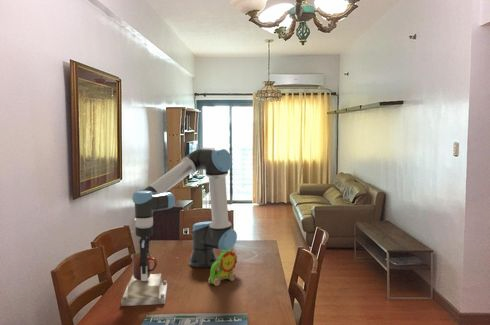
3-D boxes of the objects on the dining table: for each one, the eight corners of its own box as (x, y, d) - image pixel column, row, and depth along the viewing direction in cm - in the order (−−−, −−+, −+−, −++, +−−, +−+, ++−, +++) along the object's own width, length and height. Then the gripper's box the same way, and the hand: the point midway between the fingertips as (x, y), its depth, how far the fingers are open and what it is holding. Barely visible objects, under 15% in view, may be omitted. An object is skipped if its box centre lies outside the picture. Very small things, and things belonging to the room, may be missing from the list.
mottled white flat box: (167, 288, 197) (166, 272, 196) (164, 303, 179) (164, 286, 178) (127, 289, 194) (127, 274, 194) (121, 306, 177) (121, 288, 176)
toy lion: (215, 287, 198) (214, 255, 196) (207, 284, 202) (207, 253, 200) (239, 278, 209) (239, 249, 208) (231, 276, 213) (231, 246, 211)
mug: (127, 280, 183) (127, 257, 182) (139, 273, 191) (138, 251, 191) (151, 283, 179) (151, 259, 178) (162, 276, 187) (161, 253, 187)
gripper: (138, 221, 194) (139, 269, 196) (132, 232, 174) (133, 286, 176) (154, 221, 195) (155, 269, 197) (150, 231, 175) (151, 285, 176)
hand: (145, 277), depth 186 cm, fingers closed on mug, 7 cm apart
